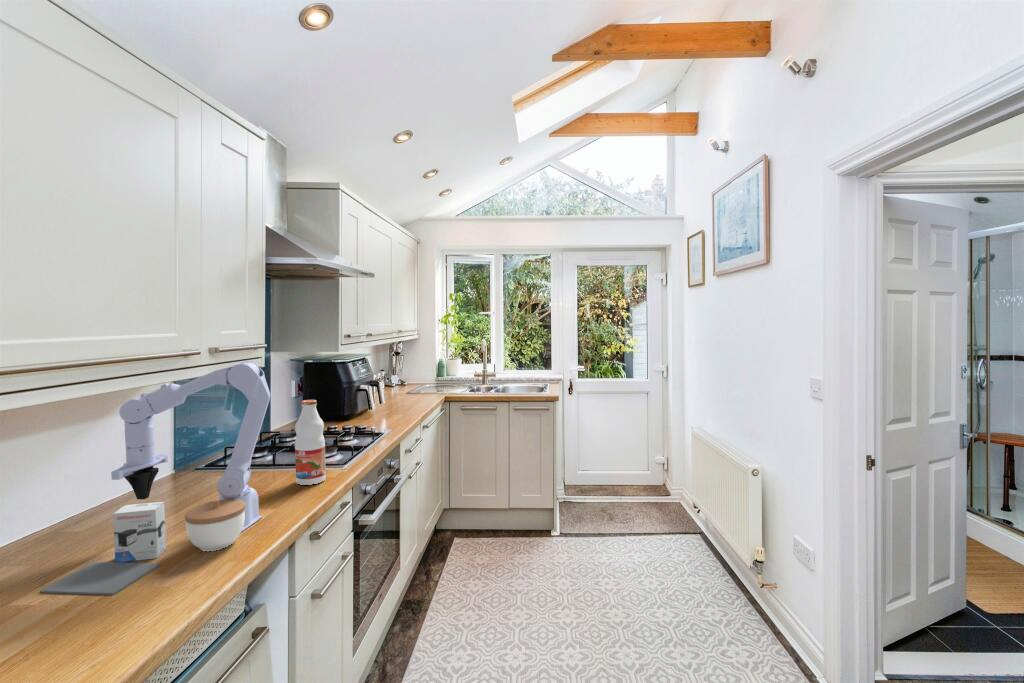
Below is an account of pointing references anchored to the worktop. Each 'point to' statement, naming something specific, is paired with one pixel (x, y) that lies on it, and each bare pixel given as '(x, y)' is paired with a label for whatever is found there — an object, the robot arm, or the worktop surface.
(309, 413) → the fruit juice
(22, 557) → the worktop surface
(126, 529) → the ink box
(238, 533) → the lidded bowl
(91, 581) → the mat
